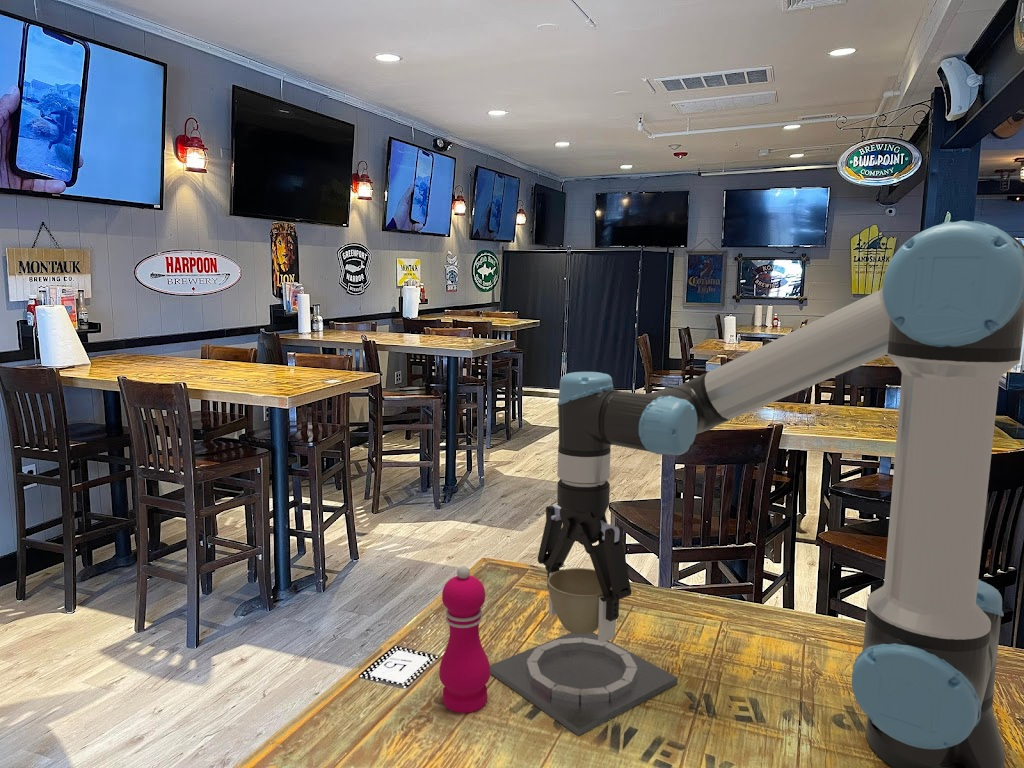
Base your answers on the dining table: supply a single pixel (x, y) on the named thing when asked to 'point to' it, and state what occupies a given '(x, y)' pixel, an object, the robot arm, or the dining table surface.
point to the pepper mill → (464, 645)
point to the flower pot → (576, 599)
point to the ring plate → (582, 679)
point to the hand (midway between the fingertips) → (580, 624)
